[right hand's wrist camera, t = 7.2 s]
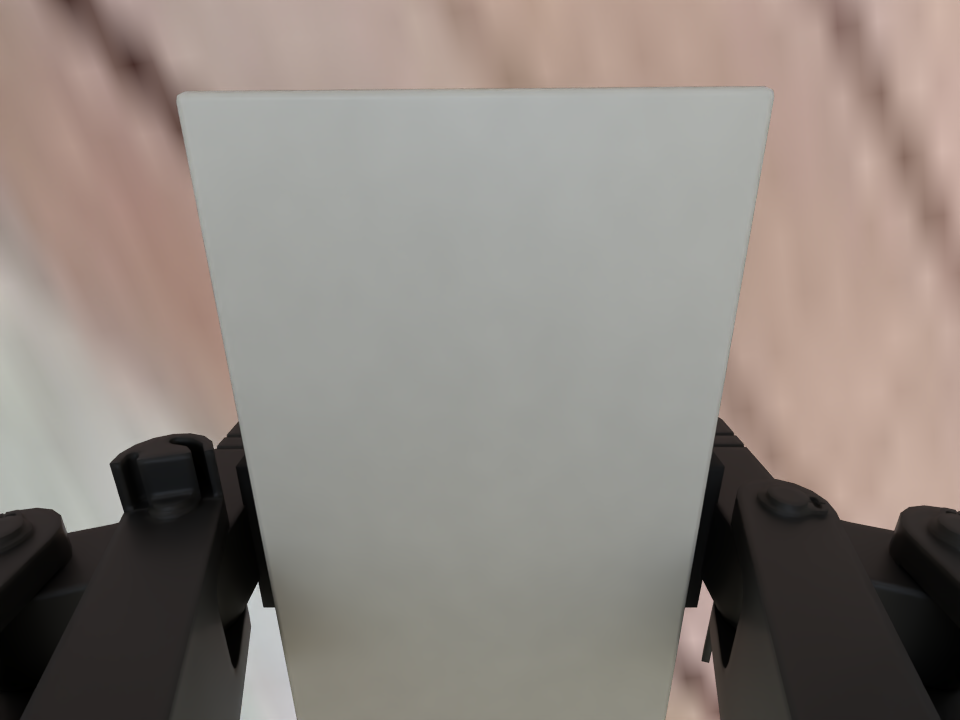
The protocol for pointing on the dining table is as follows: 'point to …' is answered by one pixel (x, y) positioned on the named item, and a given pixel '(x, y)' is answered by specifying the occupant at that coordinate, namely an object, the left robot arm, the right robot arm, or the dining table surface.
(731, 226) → the beam
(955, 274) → the dining table surface
